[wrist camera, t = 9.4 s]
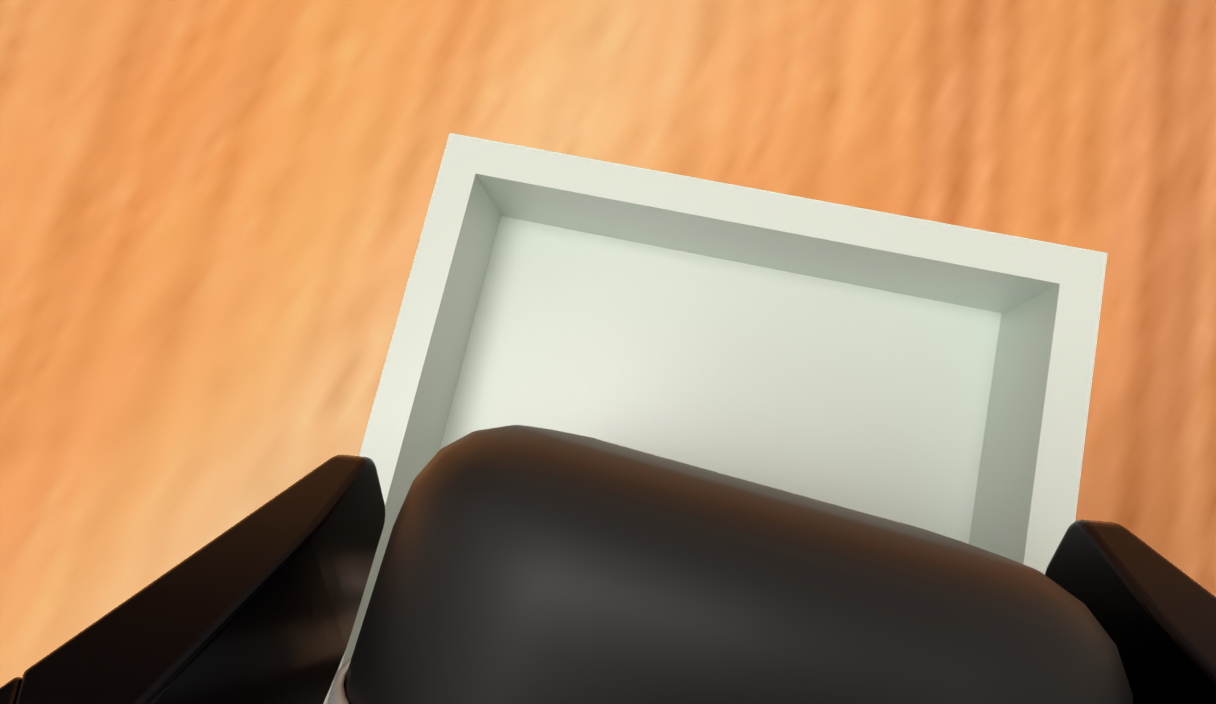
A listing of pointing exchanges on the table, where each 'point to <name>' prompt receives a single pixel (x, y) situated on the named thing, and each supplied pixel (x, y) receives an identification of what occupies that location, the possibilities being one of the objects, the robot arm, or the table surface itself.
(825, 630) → the battery charger
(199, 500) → the table surface
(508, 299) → the tray
